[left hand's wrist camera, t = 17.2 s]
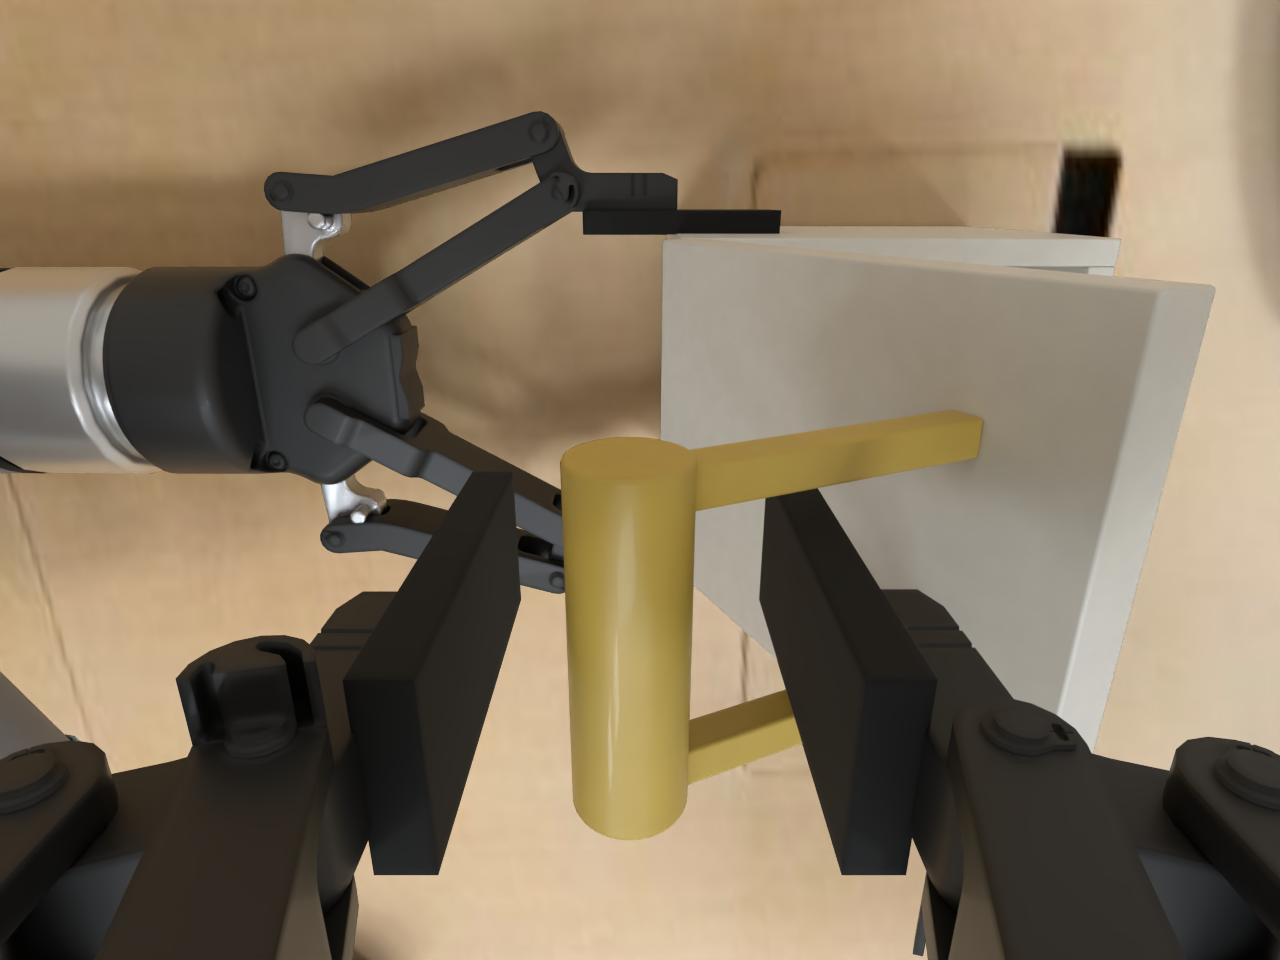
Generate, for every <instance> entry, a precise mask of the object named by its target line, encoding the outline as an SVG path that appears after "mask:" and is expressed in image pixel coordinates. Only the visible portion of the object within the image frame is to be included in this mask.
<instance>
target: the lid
mask: <svg viewBox="0 0 1280 960" xmlns="http://www.w3.org/2000/svg"><path fill="white" fill-rule="evenodd" d="M1214 294H1215V287H1213V286H1211V285H1205V284H1194V283H1183V282H1172V281H1161V280H1150V279H1139V278H1128V277H1117V276H1106V275H1095V274H1084V273H1072V272H1061V271H1050V270H1039V269H1028V268H1017V267H1006V266H995V265H984V264H973V263H962V262H951V261H939V260H928V259H917V258H906V257H895V256H884V255H873V254H862V253H851V252H840V251H829V250H818V249H807V248H795V247H784V246H773V245H762V244H751V243H740V242H729V241H718V240H707V239H668V240H664V241H663V284H662V370H661V440H659V439H652V438H642V437H617V438H606V439H600V440H595V441H590V442H587V443H583V444H580V445H577V446H575V447H573V448H571V449H569V450H568V451H567V452H565V453H564V455H563V456H562V459H561V462H560V471H561V497H562V523H563V549H564V575H565V602H566V628H567V654H568V680H569V706H570V732H571V759H572V785H573V802H574V806H575V809H576V811H577V813H578V814H579V816H580V818H581V819H582V820H583V821H584V823H585V824H586V825H588V826H589V827H590V828H591V829H593V830H594V831H596V832H598V833H600V834H602V835H604V836H607V837H610V838H614V839H621V840H639V839H644V838H649V837H652V836H655V835H657V834H659V833H662V832H663V831H665V830H667V829H668V828H669V827H671V826H672V825H673V824H674V823H675V822H676V821H677V820H678V818H679V817H680V815H681V814H682V812H683V810H684V808H685V805H686V802H687V786H688V784H691V783H694V782H697V781H700V780H702V779H705V778H708V777H711V776H713V775H716V774H719V773H722V772H725V771H727V770H730V769H733V768H736V767H739V766H741V765H744V764H747V763H750V762H753V761H755V760H758V759H761V758H764V757H767V756H769V755H772V754H775V753H778V752H780V751H783V750H786V749H789V748H792V747H794V746H797V745H800V744H802V741H801V737H800V734H799V731H798V727H797V724H796V721H795V717H794V714H793V711H792V708H791V704H790V701H789V698H788V694H787V691H786V690H783V691H780V692H777V693H773V694H770V695H767V696H764V697H761V698H758V699H755V700H751V701H748V702H745V703H742V704H739V705H736V706H733V707H730V708H726V709H723V710H720V711H717V712H714V713H711V714H708V715H704V716H701V717H698V718H695V719H692V720H689V719H690V685H691V652H692V618H693V586H694V587H696V588H697V589H698V590H699V591H700V592H701V593H702V594H703V595H704V596H706V597H707V598H708V599H709V600H710V601H711V602H712V603H713V604H715V605H716V606H717V607H718V608H719V609H720V610H721V611H722V612H724V613H725V614H726V615H727V616H728V617H729V618H730V619H731V620H733V621H734V622H735V623H736V624H737V625H738V626H739V627H740V628H742V629H743V630H744V631H745V632H746V633H747V634H748V635H749V636H751V637H752V638H753V639H754V640H755V641H756V642H757V643H758V644H760V645H761V646H762V647H763V648H764V649H765V650H766V651H767V652H769V653H770V654H771V655H772V656H773V657H774V658H775V659H776V660H777V658H776V654H775V651H774V648H773V644H772V641H771V638H770V634H769V631H768V628H767V624H766V621H765V618H764V614H763V611H762V608H761V604H760V601H759V592H760V576H761V560H762V544H763V528H764V512H765V498H769V497H774V496H779V495H785V494H790V493H795V492H800V491H805V490H811V489H816V488H818V489H819V491H820V493H821V494H822V496H823V497H824V499H825V501H826V502H827V504H828V505H829V507H830V509H831V510H832V512H833V513H834V515H835V517H836V518H837V520H838V521H839V523H840V525H841V526H842V528H843V529H844V531H845V533H846V534H847V536H848V537H849V539H850V541H851V542H852V544H853V545H854V547H855V549H856V550H857V552H858V554H859V555H860V557H861V558H862V560H863V562H864V563H865V565H866V566H867V568H868V570H869V571H870V573H871V574H872V576H873V578H874V579H875V581H876V582H877V584H878V586H879V587H880V589H918V590H919V591H921V592H922V593H924V594H926V595H927V596H929V597H930V598H932V599H933V600H935V601H936V602H938V603H940V604H941V605H943V606H944V607H945V608H946V610H947V611H948V612H949V614H950V615H951V616H952V618H953V619H954V620H955V622H956V623H957V624H958V626H959V630H960V631H963V632H964V634H965V635H966V636H967V638H968V639H969V640H970V642H971V643H972V648H976V649H977V651H978V652H979V653H980V655H981V656H982V657H983V659H984V660H985V661H986V663H987V664H988V665H989V667H990V668H991V669H992V671H993V672H994V673H995V675H996V676H997V677H998V679H999V680H1000V681H1001V683H1002V684H1003V685H1004V687H1005V688H1006V689H1007V691H1008V692H1009V693H1010V695H1011V696H1012V697H1013V698H1014V699H1015V700H1020V701H1024V702H1028V703H1032V704H1034V705H1036V706H1038V707H1041V708H1043V709H1045V710H1047V711H1050V712H1052V713H1054V714H1056V715H1057V716H1059V717H1060V718H1062V719H1063V720H1064V721H1066V722H1067V723H1068V724H1070V725H1071V726H1073V727H1074V728H1075V729H1076V730H1077V731H1078V733H1079V734H1080V735H1081V737H1082V738H1083V739H1084V741H1085V742H1086V743H1087V745H1088V747H1089V749H1090V751H1091V753H1092V754H1093V751H1094V747H1095V743H1096V740H1097V736H1098V732H1099V728H1100V725H1101V721H1102V717H1103V713H1104V709H1105V706H1106V702H1107V698H1108V694H1109V691H1110V687H1111V683H1112V679H1113V675H1114V672H1115V668H1116V664H1117V660H1118V657H1119V653H1120V649H1121V645H1122V641H1123V638H1124V634H1125V630H1126V626H1127V623H1128V619H1129V615H1130V611H1131V607H1132V604H1133V600H1134V596H1135V592H1136V589H1137V585H1138V581H1139V577H1140V573H1141V570H1142V566H1143V562H1144V558H1145V555H1146V551H1147V547H1148V543H1149V540H1150V536H1151V532H1152V528H1153V524H1154V521H1155V517H1156V513H1157V509H1158V506H1159V502H1160V498H1161V494H1162V490H1163V487H1164V483H1165V479H1166V475H1167V472H1168V468H1169V464H1170V460H1171V456H1172V453H1173V449H1174V445H1175V441H1176V438H1177V434H1178V430H1179V426H1180V422H1181V419H1182V415H1183V411H1184V407H1185V404H1186V400H1187V396H1188V392H1189V388H1190V385H1191V381H1192V377H1193V373H1194V370H1195V366H1196V362H1197V358H1198V354H1199V351H1200V347H1201V343H1202V339H1203V336H1204V332H1205V328H1206V324H1207V320H1208V317H1209V313H1210V309H1211V305H1212V302H1213V298H1214Z"/></svg>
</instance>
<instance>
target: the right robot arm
mask: <svg viewBox="0 0 1280 960" xmlns="http://www.w3.org/2000/svg"><path fill="white" fill-rule="evenodd" d="M529 163H533V164H534V167H535V170H536V172H537V175H538V178H539V180H540V183H539V184H537V185H535V186H534V187H532V188H531V189H529V190H528V191H526V192H524V193H523V194H521V195H520V196H518V197H516V198H515V199H513V200H512V201H510V202H508V203H507V204H505V205H504V206H502V207H500V208H499V209H497V210H496V211H494V212H492V213H491V214H489V215H488V216H486V217H484V218H483V219H481V220H480V221H478V222H477V223H475V224H473V225H472V226H470V227H469V228H467V229H465V230H464V231H462V232H461V233H459V234H457V235H456V236H454V237H453V238H451V239H449V240H448V241H446V242H445V243H443V244H441V245H440V246H438V247H437V248H435V249H433V250H432V251H430V252H429V253H427V254H426V255H424V256H422V257H421V258H419V259H418V260H416V261H414V262H413V263H411V264H410V265H408V266H406V267H405V268H403V269H402V270H400V271H398V272H397V273H395V274H393V275H391V276H389V277H387V278H385V279H383V280H382V281H380V282H379V283H377V284H375V285H374V286H372V287H370V286H368V285H367V284H365V283H364V282H362V281H361V280H359V279H358V278H356V277H355V276H353V275H352V274H350V273H349V272H348V271H346V270H345V269H343V268H342V267H340V266H339V265H337V264H336V263H334V262H333V261H331V260H330V259H328V258H327V257H325V256H323V252H324V247H325V244H326V243H327V242H328V241H329V240H330V239H332V238H334V237H339V236H343V235H344V234H346V233H347V232H348V231H349V229H350V227H351V222H352V218H351V213H365V212H373V211H377V210H381V209H385V208H388V207H392V206H395V205H398V204H401V203H404V202H408V201H411V200H414V199H417V198H420V197H424V196H427V195H430V194H433V193H437V192H440V191H443V190H446V189H449V188H453V187H456V186H459V185H462V184H465V183H469V182H472V181H475V180H478V179H481V178H485V177H488V176H491V175H494V174H497V173H501V172H504V171H507V170H510V169H513V168H517V167H520V166H523V165H526V164H529ZM677 185H678V180H677V179H675V178H673V177H671V176H668V175H666V174H664V173H589V172H585V171H582V170H581V169H580V168H579V167H578V166H577V165H576V164H575V162H574V160H573V158H572V155H571V152H570V150H569V147H568V144H567V141H566V139H565V135H564V131H563V129H562V127H561V126H560V125H559V124H558V123H557V122H556V121H555V120H554V119H553V118H552V117H551V116H550V115H549V114H547V113H544V112H541V111H539V112H532V113H529V114H525V115H522V116H519V117H516V118H513V119H510V120H507V121H503V122H500V123H497V124H494V125H491V126H488V127H485V128H482V129H478V130H475V131H472V132H469V133H466V134H463V135H460V136H456V137H453V138H450V139H447V140H444V141H441V142H438V143H434V144H431V145H428V146H425V147H422V148H419V149H416V150H413V151H409V152H406V153H403V154H400V155H397V156H394V157H391V158H387V159H384V160H381V161H378V162H375V163H372V164H369V165H366V166H362V167H359V168H356V169H353V170H350V171H347V172H344V173H340V174H337V175H334V176H328V175H315V174H302V173H289V172H276V173H273V174H271V175H270V176H268V178H267V180H266V181H265V185H264V192H265V196H266V198H267V200H268V201H269V203H270V204H271V205H272V206H273V207H275V208H276V209H278V210H281V219H282V230H283V242H284V253H285V255H284V256H282V257H280V258H278V259H277V260H275V261H274V262H272V263H271V264H269V265H266V266H264V267H154V268H150V269H147V270H145V271H142V270H139V269H136V268H133V267H15V268H0V473H106V474H149V473H156V472H159V471H161V470H164V471H167V472H170V473H178V474H258V473H278V472H288V473H293V474H297V475H300V476H303V477H305V478H307V479H309V480H311V481H313V482H315V483H318V484H321V488H322V492H323V496H324V501H325V505H326V509H327V513H328V518H329V524H328V525H327V526H326V527H325V528H324V529H323V530H322V532H321V534H320V540H321V542H322V544H323V546H324V547H325V548H326V549H327V550H329V551H331V552H333V553H349V552H365V551H380V550H382V551H386V552H390V553H394V554H398V555H402V556H406V557H410V558H415V559H418V558H419V557H420V555H421V554H422V552H423V550H424V549H425V547H426V545H427V544H428V542H429V541H430V539H431V537H432V536H433V534H434V533H435V531H436V529H437V528H438V526H439V525H440V523H441V521H442V520H443V518H444V517H445V515H446V513H447V512H448V510H444V509H440V508H437V507H433V506H429V505H425V504H421V503H417V502H412V501H407V500H398V499H386V498H385V494H384V492H383V491H382V490H380V489H374V488H368V487H365V486H363V485H361V484H360V483H359V482H358V481H357V480H356V478H355V475H354V474H355V473H356V472H357V471H359V470H360V469H361V468H363V467H364V466H365V465H367V464H368V463H369V462H371V461H372V460H374V461H376V462H378V463H380V464H382V465H384V466H386V467H388V468H390V469H392V470H394V471H396V472H398V473H400V474H402V475H404V476H407V477H411V478H412V477H419V478H422V479H425V480H427V481H429V482H431V483H433V484H435V485H437V486H439V487H440V488H442V489H444V490H446V491H448V492H450V493H452V494H454V495H456V496H458V494H459V493H460V491H461V489H462V488H463V486H464V485H465V483H466V481H467V480H468V478H469V477H470V475H471V473H472V472H513V480H514V496H515V512H516V526H518V527H520V528H522V529H524V530H522V529H518V528H517V544H518V560H519V576H520V585H523V586H527V587H531V588H535V589H539V590H543V591H547V592H551V593H557V594H561V593H565V575H564V549H563V523H562V497H561V490H560V489H558V488H556V487H554V486H552V485H550V484H548V483H546V482H545V481H543V480H541V479H539V478H537V477H535V476H533V475H531V474H529V473H527V472H525V471H523V470H521V469H520V468H518V467H516V466H514V465H512V464H510V463H508V462H506V461H504V460H502V459H500V458H498V457H496V456H494V455H493V454H491V453H489V452H487V451H485V450H483V449H481V448H479V447H477V446H475V445H473V444H471V443H469V442H468V441H466V440H464V439H462V438H460V437H458V436H456V435H454V434H452V433H451V432H449V431H448V430H447V428H446V427H445V426H444V425H443V424H442V423H440V422H439V421H437V420H435V419H433V418H431V417H429V416H427V415H425V414H424V413H422V412H420V410H421V409H422V408H423V407H424V406H425V403H424V394H423V386H422V383H421V381H420V378H419V375H418V373H417V370H416V366H415V365H416V359H417V353H418V347H419V345H418V335H417V326H412V325H411V323H410V321H409V319H408V317H407V316H406V314H407V313H409V312H410V311H412V310H414V309H415V308H417V307H418V306H420V305H422V304H423V303H425V302H427V301H428V300H430V299H431V298H433V297H434V296H436V295H437V294H439V293H440V292H442V291H444V290H445V289H447V288H449V287H450V286H452V285H453V284H455V283H457V282H458V281H460V280H462V279H463V278H465V277H466V276H468V275H470V274H471V273H473V272H475V271H476V270H478V269H479V268H481V267H483V266H484V265H486V264H488V263H489V262H491V261H492V260H494V259H496V258H497V257H499V256H501V255H502V254H504V253H505V252H507V251H509V250H510V249H512V248H514V247H515V246H517V245H519V244H520V243H522V242H523V241H525V240H527V239H528V238H530V237H532V236H533V235H535V234H536V233H538V232H540V231H541V230H543V229H545V228H546V227H548V226H549V225H551V224H553V223H554V222H556V221H558V220H559V219H561V218H562V217H564V216H566V215H567V214H569V213H571V212H583V235H676V234H780V219H781V210H677ZM71 740H74V741H79V740H78V739H77V738H76V737H75V736H71V735H64V734H63V733H62V732H61V731H60V730H59V729H58V728H57V727H56V726H55V725H54V724H53V723H52V722H51V721H50V720H49V719H48V718H47V717H46V716H45V715H44V714H43V713H42V712H41V711H40V710H39V709H38V708H37V707H36V706H35V705H34V704H33V703H32V702H31V701H30V700H29V699H28V698H27V697H26V696H25V695H24V694H23V693H22V692H21V691H20V690H19V689H18V688H17V687H16V686H14V685H13V684H12V683H11V682H10V681H9V680H8V679H7V678H6V677H5V676H4V675H3V674H2V673H1V672H0V760H1V759H3V758H5V757H7V756H8V755H10V754H12V753H14V752H17V751H20V750H23V749H26V748H27V749H29V748H31V747H33V746H37V745H42V744H46V743H54V742H62V741H71Z"/></svg>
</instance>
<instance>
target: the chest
mask: <svg viewBox="0 0 1280 960" xmlns="http://www.w3.org/2000/svg"><path fill="white" fill-rule="evenodd" d="M668 239H707V240H718V241H729V242H740V243H751V244H762V245H773V246H784V247H795V248H807V249H818V250H829V251H840V252H851V253H862V254H873V255H884V256H895V257H906V258H917V259H928V260H939V261H951V262H962V263H973V264H984V265H995V266H1006V267H1017V268H1028V269H1039V270H1050V271H1061V272H1072V273H1084V274H1095V275H1106V276H1114V271H1115V267H1113V266H1115V265H1116V262H1117V257H1118V252H1119V248H1120V243H1121V239H1119V238H1107V237H1095V236H1082V235H1070V234H1058V233H1045V232H1033V231H1021V230H1008V229H996V228H983V227H970V226H780V234H676V235H667V240H668Z"/></svg>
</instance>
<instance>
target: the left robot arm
mask: <svg viewBox="0 0 1280 960" xmlns="http://www.w3.org/2000/svg"><path fill="white" fill-rule="evenodd" d="M520 601H521V592H520V576H519V560H518V544H517V528H516V512H515V496H514V480H513V472H472V473H471V475H470V477H469V478H468V480H467V481H466V483H465V485H464V486H463V488H462V489H461V491H460V493H459V494H458V496H457V497H456V499H455V501H454V502H453V504H452V505H451V507H450V509H449V510H448V512H447V513H446V515H445V517H444V518H443V520H442V521H441V523H440V525H439V526H438V528H437V529H436V531H435V533H434V534H433V536H432V537H431V539H430V541H429V542H428V544H427V545H426V547H425V549H424V550H423V552H422V554H421V555H420V557H419V558H418V560H417V562H416V563H415V565H414V566H413V568H412V570H411V571H410V573H409V574H408V576H407V578H406V579H405V581H404V582H403V584H402V586H401V587H400V589H399V590H398V592H362V593H360V594H359V595H357V596H355V597H354V598H352V599H351V600H349V601H348V602H346V603H345V604H343V605H342V606H340V607H339V608H337V609H336V610H335V611H334V613H333V614H332V615H331V617H330V618H329V619H328V621H327V622H326V623H325V625H324V626H323V627H322V629H321V633H318V634H317V635H316V637H315V638H314V639H313V641H312V642H311V643H310V645H309V644H308V643H307V642H306V641H305V640H303V639H299V638H295V637H290V636H286V635H275V636H258V637H253V638H248V639H244V640H239V641H235V642H232V643H229V644H227V645H224V646H222V647H219V648H216V649H214V650H211V651H209V652H208V653H206V654H204V655H203V656H201V657H200V658H198V659H196V660H195V661H193V662H191V663H190V664H189V665H188V666H187V667H186V668H185V669H184V670H183V671H182V672H181V673H180V675H179V676H178V677H177V678H176V682H177V686H178V690H179V694H180V698H181V702H182V706H183V710H184V713H185V717H186V721H187V725H188V729H189V733H190V737H191V741H192V745H193V746H192V748H191V750H190V752H189V755H188V757H186V758H182V759H179V760H175V761H171V762H167V763H162V764H157V765H153V766H148V767H143V768H138V769H134V770H129V771H124V772H119V773H115V774H111V771H110V768H109V765H108V762H107V758H106V755H105V753H104V752H103V751H102V750H101V749H100V748H98V747H97V746H96V745H95V744H94V743H88V742H81V741H74V740H71V741H62V742H54V743H46V744H42V745H37V746H33V747H31V748H29V749H27V748H26V749H23V750H20V751H17V752H14V753H12V754H10V755H8V756H7V757H5V758H3V759H1V760H0V960H352V958H353V950H354V941H355V933H356V924H357V916H358V908H359V904H358V896H357V889H356V883H355V877H354V872H355V870H356V868H357V865H358V863H359V861H360V858H361V856H362V854H363V851H364V849H365V847H366V844H367V842H368V841H369V847H370V853H371V859H372V865H373V871H374V875H438V874H439V871H440V867H441V864H442V861H443V857H444V854H445V851H446V847H447V844H448V841H449V837H450V834H451V831H452V827H453V824H454V821H455V817H456V814H457V811H458V807H459V804H460V801H461V797H462V794H463V791H464V787H465V784H466V781H467V777H468V774H469V771H470V767H471V764H472V761H473V757H474V754H475V751H476V747H477V744H478V741H479V737H480V734H481V731H482V727H483V724H484V721H485V717H486V714H487V711H488V708H489V704H490V701H491V698H492V694H493V691H494V688H495V684H496V681H497V678H498V674H499V671H500V668H501V664H502V661H503V658H504V654H505V651H506V648H507V644H508V641H509V638H510V634H511V631H512V628H513V624H514V621H515V618H516V614H517V611H518V608H519V604H520ZM759 601H760V604H761V608H762V611H763V614H764V618H765V621H766V624H767V628H768V631H769V634H770V638H771V641H772V644H773V648H774V651H775V654H776V658H777V661H778V664H779V668H780V671H781V674H782V678H783V681H784V684H785V688H786V691H787V694H788V698H789V701H790V704H791V708H792V711H793V714H794V717H795V721H796V724H797V727H798V731H799V734H800V737H801V741H802V744H803V747H804V751H805V754H806V757H807V761H808V764H809V767H810V771H811V774H812V777H813V781H814V784H815V787H816V791H817V794H818V797H819V801H820V804H821V807H822V811H823V814H824V817H825V821H826V824H827V827H828V831H829V834H830V837H831V841H832V844H833V847H834V851H835V854H836V857H837V861H838V864H839V867H840V871H841V874H842V875H906V871H907V865H908V859H909V853H910V847H911V841H912V838H913V840H914V843H915V845H916V847H917V850H918V852H919V854H920V857H921V859H922V861H923V864H924V866H925V868H926V871H927V872H926V877H925V883H924V889H923V895H922V900H921V906H920V912H919V917H918V923H917V929H916V934H915V941H914V948H913V954H915V955H919V956H923V953H924V948H925V943H926V948H927V956H928V960H1280V755H1277V754H1275V753H1274V752H1272V751H1270V750H1268V749H1265V748H1263V747H1260V746H1257V745H1250V743H1246V742H1242V741H1237V740H1231V739H1222V738H1214V737H1204V738H1197V739H1191V740H1187V741H1186V742H1185V743H1183V744H1182V745H1181V746H1180V747H1178V748H1177V749H1176V752H1175V755H1174V758H1173V762H1172V765H1171V768H1170V771H1167V770H1163V769H1158V768H1153V767H1148V766H1143V765H1139V764H1134V763H1129V762H1124V761H1119V760H1115V759H1110V758H1106V757H1103V756H1099V755H1095V754H1092V753H1091V751H1090V749H1089V747H1088V745H1087V743H1086V742H1085V741H1084V739H1083V738H1082V737H1081V735H1080V734H1079V733H1078V731H1077V730H1076V729H1075V728H1074V727H1073V726H1071V725H1070V724H1068V723H1067V722H1066V721H1064V720H1063V719H1062V718H1060V717H1059V716H1057V715H1056V714H1054V713H1052V712H1050V711H1047V710H1045V709H1043V708H1041V707H1038V706H1036V705H1034V704H1032V703H1028V702H1024V701H1020V700H1015V699H1014V698H1013V697H1012V696H1011V695H1010V693H1009V692H1008V691H1007V689H1006V688H1005V687H1004V685H1003V684H1002V683H1001V681H1000V680H999V679H998V677H997V676H996V675H995V673H994V672H993V671H992V669H991V668H990V667H989V665H988V664H987V663H986V661H985V660H984V659H983V657H982V656H981V655H980V653H979V652H978V651H977V649H976V648H972V643H971V642H970V640H969V639H968V638H967V636H966V635H965V634H964V632H963V631H960V630H959V626H958V624H957V623H956V622H955V620H954V619H953V618H952V616H951V615H950V614H949V612H948V611H947V610H946V608H945V607H944V606H943V605H941V604H940V603H938V602H936V601H935V600H933V599H932V598H930V597H929V596H927V595H926V594H924V593H922V592H921V591H919V590H918V589H880V587H879V586H878V584H877V582H876V581H875V579H874V578H873V576H872V574H871V573H870V571H869V570H868V568H867V566H866V565H865V563H864V562H863V560H862V558H861V557H860V555H859V554H858V552H857V550H856V549H855V547H854V545H853V544H852V542H851V541H850V539H849V537H848V536H847V534H846V533H845V531H844V529H843V528H842V526H841V525H840V523H839V521H838V520H837V518H836V517H835V515H834V513H833V512H832V510H831V509H830V507H829V505H828V504H827V502H826V501H825V499H824V497H823V496H822V494H821V493H820V491H819V489H818V488H816V489H811V490H805V491H800V492H795V493H790V494H785V495H779V496H774V497H769V498H765V512H764V528H763V544H762V560H761V576H760V592H759Z"/></svg>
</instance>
